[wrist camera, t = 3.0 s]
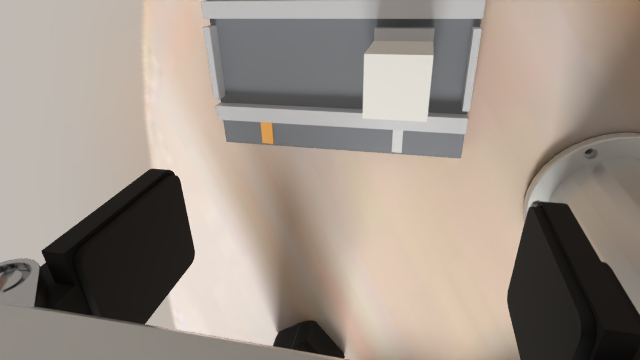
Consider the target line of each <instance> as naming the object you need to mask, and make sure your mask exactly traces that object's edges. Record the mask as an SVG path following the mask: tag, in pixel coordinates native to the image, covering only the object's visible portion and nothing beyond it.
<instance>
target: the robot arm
mask: <svg viewBox="0 0 640 360" xmlns="http://www.w3.org/2000/svg"><path fill="white" fill-rule="evenodd" d="M588 149H590V151H588V152H586V151H587V150H588ZM534 201H536V202H534ZM523 216H524V221H525V224H524V228H523V232H522V236H521V240H520V244H519V248H518V252H517V256H516V260H515V265H514V269H513V273H512V277H511V281H510V285H509V289H508V296H507V302H508V308H509V313H510V317H511V321H512V325H513V329H514V333H515V338H516V342H517V346H518V350H519V354H520V359H521V360H640V133H615V134H606V135H602V136H598V137H594V138H590V139H587V140H585V141H582V142H580V143H577V144H575V145H573V146H570V147H569V148H567V149H565V150H564V151H562V152H561V153H559V154H557V155H556V156H555V157H553V158H552V159H551V160H550V161H549V162H548V163H546V164H545V165H544V166H543V167H542V168H541V170H540V171H539V172H538V173H537V174H536V176H535V177H534V179H533V180H532V182H531V184H530V186H529V188H528V189H527V193H526V196H525V200H524V208H523ZM42 254H43V256H44V258H45V261H46V263H45V264H44V265H42V266H41V267H40V266H39V264H38V263H37V262H36V261H34V260H31V259H14V260H9V261H5V262H2V263H0V360H348V359H343V358H337V357H331V356H326V355H320V354H315V353H309V352H303V351H297V350H292V349H286V348H280V347H274V346H269V345H263V344H257V343H251V342H246V341H240V340H234V339H228V338H222V337H216V336H211V335H205V334H199V333H193V332H187V331H181V330H175V329H169V328H163V327H157V326H150V325H145V323H146V322H147V321H148V319H149V318H150V317H151V315H152V314H153V313H154V312H155V310H156V309H157V308H158V306H159V305H160V304H161V302H162V301H163V300H164V299H165V297H166V296H167V295H168V294H169V292H170V291H171V290H172V288H173V287H174V286H175V285H176V283H177V282H178V281H179V279H180V278H181V277H182V275H183V274H184V273H185V272H186V270H187V269H188V268H189V266H190V265H191V264H192V262H193V260H194V256H195V250H194V245H193V240H192V235H191V231H190V226H189V221H188V216H187V211H186V206H185V202H184V197H183V192H182V187H181V182H180V179H179V177H178V176H175V174H174V172H173V171H171V170H162V169H150V170H148V171H147V172H146V173H144V174H143V175H142V176H140V177H139V178H138V179H136V180H135V181H134V182H132V183H131V184H130V185H128V186H127V187H126V188H124V189H123V190H122V191H120V192H119V193H118V194H116V195H115V196H114V197H112V198H111V199H110V200H108V201H107V202H106V203H104V204H103V205H102V206H100V207H99V208H98V209H96V210H95V211H94V212H93V213H91V214H90V215H88V216H87V217H86V218H84V219H83V220H82V221H80V222H79V223H78V224H77V225H75V226H74V227H73V228H71V229H70V230H69V231H67V232H66V233H65V234H63V235H62V236H61V237H59V238H58V239H57V240H55V241H54V242H53V243H52V244H50V245H49V246H47V247H46V248H45V249H43V250H42Z"/></svg>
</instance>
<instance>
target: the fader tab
mask: <svg viewBox="0 0 640 360" xmlns="http://www.w3.org/2000/svg"><path fill="white" fill-rule="evenodd" d="M433 39H434V27H375V30H374V41H373V43H372V44H371V45H370V47H369V48H368V49H367V51H366V52H365V53H364V77H363V117H362V119H381V120H400V121H418V122H427V117H428V107H429V97H430V87H431V77H432V67H433V57H434V49H433Z"/></svg>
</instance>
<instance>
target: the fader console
mask: <svg viewBox="0 0 640 360" xmlns="http://www.w3.org/2000/svg"><path fill="white" fill-rule="evenodd" d="M485 2H486V0H207V1H201V5H202V12H203V19H210V24H211V25H210V26H206V27H203V28H204V35H205V42H206V49H207V56H208V63H209V70H210V77H211V83H212V90H213V97H214V100H220V99H221V103H220V104H218V105H216V110H217V117H218V120H224V127H225V134H226V141H227V142H238V143H252V144H266V145H280V146H294V147H308V148H322V149H336V150H350V151H364V152H378V153H392V154H406V155H420V156H434V157H448V158H461V154H462V147H463V140H464V134H466V131H467V124H468V116H467V113H468V112H470V106H471V99H472V92H473V86H474V79H475V72H476V65H477V59H478V52H479V45H480V38H481V31H482V28H481V27H480V23H481V19H483V15H484V8H485ZM375 27H434V39H433V49H434V57H433V67H432V77H431V87H430V97H429V107H428V117H427V122H418V121H400V120H381V119H362V117H363V77H364V53H365V52H366V51H367V49H368V48H369V47H370V45H371V44H372V43H373V41H374V30H375Z"/></svg>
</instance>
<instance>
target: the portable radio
mask: <svg viewBox="0 0 640 360" xmlns="http://www.w3.org/2000/svg"><path fill="white" fill-rule="evenodd" d="M273 346H274V347H280V348H286V349H292V350H297V351H303V352H309V353H315V354H320V355H326V356H331V357H337V358H343V359H344V357H345V356H344V354H343V352H342V351H341V350H340V349H339V348H338V347H337V345H336V344H335V343H334V342H333V341H332V340H331V339H330V338H329V336H328V335H327V334H326V333H325V332H324V331H323V330H322V329H321V327H320V326H319V325H318V324H317V323H316V322H314V321H310V322H303V323H300V324H297V325H295V326H293V327H290V328H288V329H286V330H283V331H281V332H279V333H278V335H277V337H276V339H275V342H274V345H273Z"/></svg>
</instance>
